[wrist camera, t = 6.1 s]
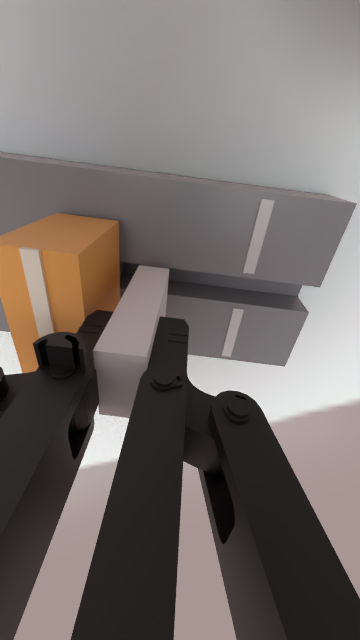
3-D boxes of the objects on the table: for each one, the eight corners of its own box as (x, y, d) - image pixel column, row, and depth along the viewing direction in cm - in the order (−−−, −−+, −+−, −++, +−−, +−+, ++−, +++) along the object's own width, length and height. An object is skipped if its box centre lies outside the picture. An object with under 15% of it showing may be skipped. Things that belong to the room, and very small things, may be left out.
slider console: (-107, 138, 14) (-176, 134, 12) (329, 195, 14) (357, 203, 12) (-42, 299, 20) (-80, 321, 17) (273, 339, 20) (285, 367, 17)
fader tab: (73, 206, 14) (-20, 243, 8) (128, 212, 14) (76, 256, 8) (83, 302, 17) (22, 380, 11) (128, 307, 17) (90, 388, 11)
